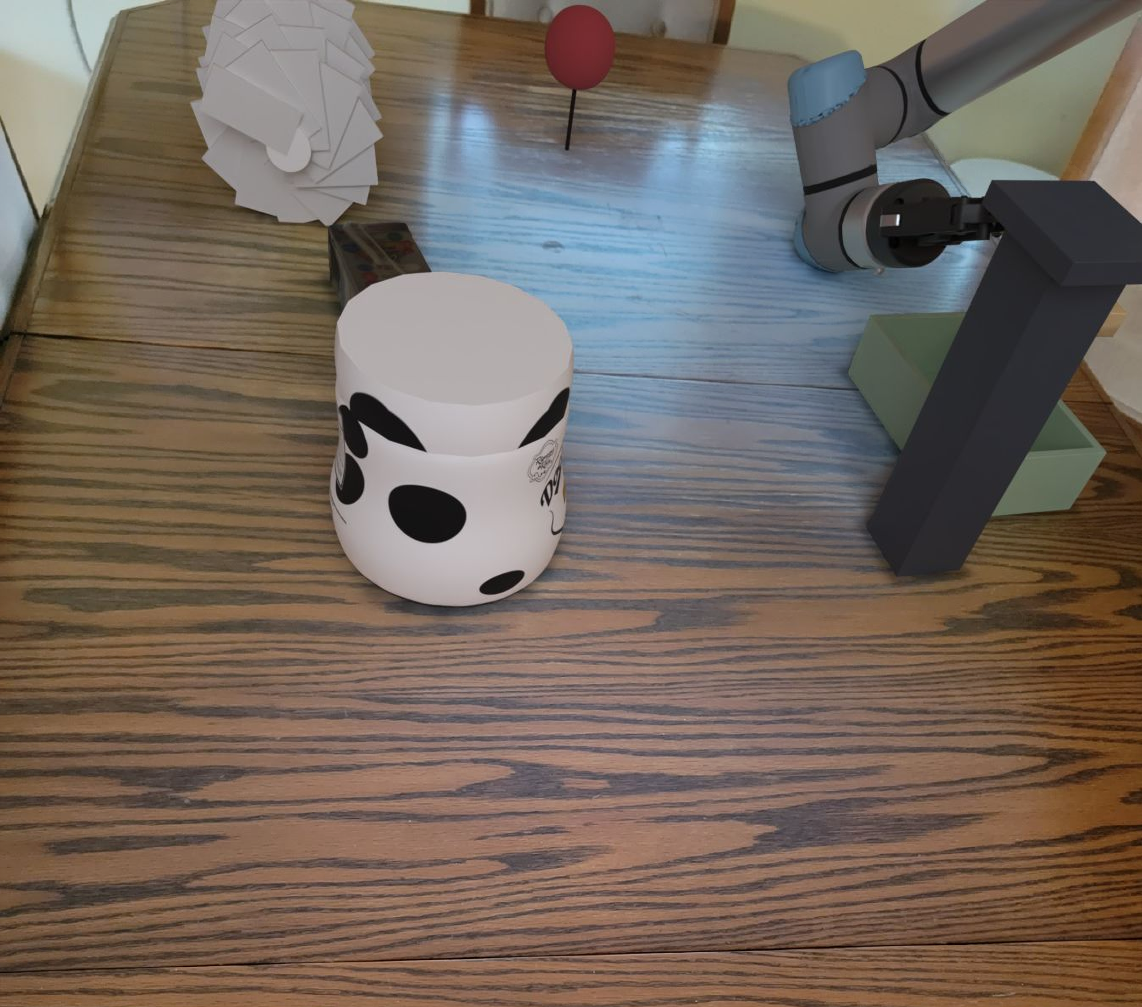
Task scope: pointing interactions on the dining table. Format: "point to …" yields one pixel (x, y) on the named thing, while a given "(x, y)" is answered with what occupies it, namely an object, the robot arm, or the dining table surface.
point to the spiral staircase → (289, 106)
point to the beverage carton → (370, 256)
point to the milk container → (450, 437)
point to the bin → (904, 379)
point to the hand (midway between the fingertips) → (1071, 207)
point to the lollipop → (579, 51)
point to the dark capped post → (1006, 365)
